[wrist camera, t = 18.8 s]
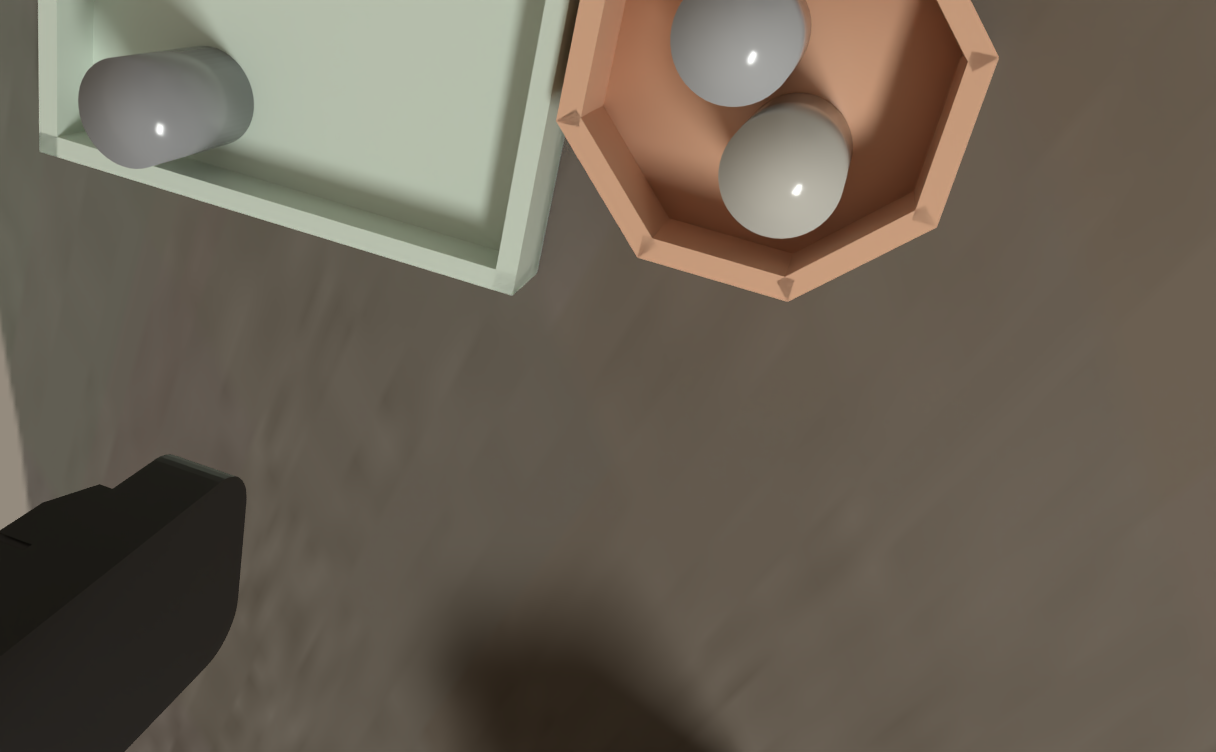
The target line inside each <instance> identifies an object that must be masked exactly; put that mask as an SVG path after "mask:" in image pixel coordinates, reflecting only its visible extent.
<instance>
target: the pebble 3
mask: <svg viewBox="0 0 1216 752" xmlns="http://www.w3.org/2000/svg"><path fill="white" fill-rule="evenodd" d="M852 154H853V140H852V135H851V131H850V128H849V125H848V123H847V121H846V119H845V118H844V116H843V115H842V113H841V112H840V111H839V110H838V109H837V108H836V107H835V106H834V105H833V104H831V103H830V102H829V101H827V100H825V99H824V98H821V97H819V96H817V95H813V94H809V93H797V92H795V93H788V94H784V95H780V96H778V97H775V98H773V99H771V100H770V101H768V102H766V103H765V104H764V105H762V106H761V107H760V108H759V109H758V110H757V111H756V112H755V113H754V114H753V115H752V116H751V117H750V118H749V119H748V121H747V122H746V123H745V124H744V125H743V126H742V127H741V128H740V129H739V130H738V131H737V132H736V133H735V134H734V136H733V137H732V138H731V139H730V141H729V142H728V144H727V146H726V147H725V149H724V152H723V154H722V157H721V160H720V165H719V171H718V181H719V188H720V193H721V196H722V199H723V201H724V203H725V205H726V207H727V209H728V210H729V212H730V213H731V215H732V216H733V217H734V218H735V219H736V220H737V221H738V222H739V223H740V224H741V225H742V226H744V227H745V228H747V229H748V230H750V231H752V232H754V233H756V234H758V235H762V236H765V237H770V238H779V239H784V238H792V237H797V236H800V235H803V234H806V233H808V232H810V231H812V230H814V229H815V228H817V227H818V226H820V225H821V224H822V223H823V222H824V221H826V220H827V219H828V217H829V216H830V215H831V214H832V213H833V211H834V210H835V208H836V207H837V205H838V203H839V201H840V198H841V195H842V192H843V189H844V185H845V182H846V178H847V174H848V171H849V167H850V163H851V159H852Z"/></svg>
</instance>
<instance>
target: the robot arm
mask: <svg viewBox="0 0 1216 752" xmlns="http://www.w3.org/2000/svg"><path fill="white" fill-rule="evenodd" d="M245 510H246V488H245V485H244V483H243V481H242V480H241V479H240V478H239V477H236V476H233V475H230V474H227V473H224V472H221V471H218V470H215V469H213V468H210V467H207V466H204V465H201V464H198V463H195V462H192V461H189V460H186V459H183V458H181V457H178V456H175V455H164V456H161V457H159V458H157V459H155V460H154V461H152V462H151V463H150V464H148V465H147V466H145V467H144V468H142V469H141V470H139V471H138V472H137V473H135V474H134V475H132V476H131V477H129V478H128V479H126V480H125V481H123V482H122V483H121V484H119V485H118V486H116V487H115V488H113V489H111V488H108V487H106V486H103V485H100V484H99V485H96V486H93V487H90V488H87V489H84V490H81V491H78V492H74V493H71V494H68V495H65V496H62V497H59V498H56V499H53V500H50V501H47V502H44V503H42V504H40V505H38V506H37V507H35V508H34V509H32V510H31V511H29V512H28V513H26V514H25V515H23V516H22V517H20V518H18V519H17V520H15V521H14V522H12V523H11V524H9V525H8V526H6V527H5V528H3V529H2V530H0V752H125V751H126V750H127V748H128V747H129V746H130V745H131V744H132V743H133V742H134V741H135V740H136V739H137V738H138V737H139V736H140V735H141V734H142V733H143V732H144V731H145V730H146V729H147V728H148V727H149V726H150V725H151V723H152V722H153V721H154V720H155V719H156V718H157V717H158V716H159V715H160V714H161V713H162V712H163V711H164V710H165V709H166V708H167V707H168V706H169V705H170V704H171V703H172V702H173V701H174V699H175V698H176V697H177V696H178V695H179V694H180V693H181V692H182V691H183V690H184V689H185V688H186V687H187V686H188V685H189V684H190V683H191V682H192V681H193V680H194V679H195V678H196V677H197V676H198V674H199V673H200V672H201V671H202V670H203V669H204V668H205V667H206V666H207V665H208V664H209V663H210V662H211V660H212V659H213V658H214V656H215V655H216V654H217V652H218V651H219V649H220V647H221V646H222V644H223V642H224V640H225V638H226V636H227V634H228V632H229V630H230V627H231V625H232V622H233V619H234V616H235V612H236V608H237V601H238V591H239V580H240V568H241V557H242V545H243V533H244V522H245Z"/></svg>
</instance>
